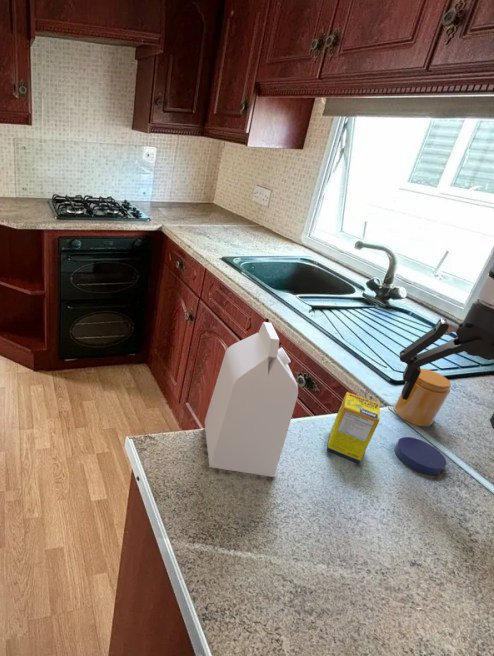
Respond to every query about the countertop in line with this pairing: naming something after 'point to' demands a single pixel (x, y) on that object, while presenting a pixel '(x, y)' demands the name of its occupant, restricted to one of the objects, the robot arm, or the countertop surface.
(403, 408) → the jar
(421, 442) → the lid
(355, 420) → the supplement box
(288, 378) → the milk
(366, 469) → the countertop surface
